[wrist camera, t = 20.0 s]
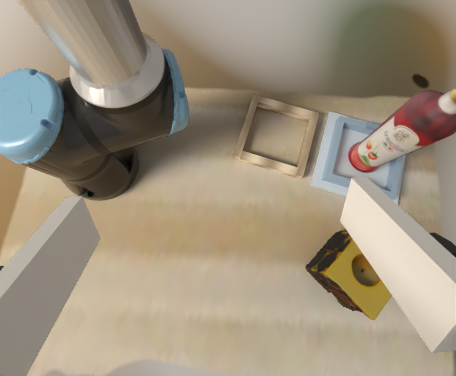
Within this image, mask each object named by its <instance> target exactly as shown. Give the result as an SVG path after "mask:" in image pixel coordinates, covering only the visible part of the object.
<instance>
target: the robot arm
mask: <svg viewBox="0 0 456 376" xmlns="http://www.w3.org/2000/svg"><path fill="white" fill-rule="evenodd" d="M17 1H18V2H19V4H20V5H21V6H22V7H23V8H24V10H25V11H26V12H27V13H28V14H29V16H30V17H31V18H32V19H33V20H34V22H35V23H36V24H37V25H38V26H39V28H40V29H41V30H42V31H43V32H44V33H45V35H46V36H47V37H48V38H49V39H50V41H51V42H52V43H53V44H54V46H55V47H56V48H57V49H58V50H59V51H60V53H61V54H62V55H63V56H64V58H65V59H66V60H67V61H68V62H69V63H70V77H69V78H65V79H62V80H58V81H55V80H54V78H52V77H51V76H50V75H48V74H45V73H43V72H38V71H37V70H34V69H18V70H14V71H11V72H9V73H7V74H5V75H3V76H1V77H0V154H1V155H3V156H5V157H7V158H9V159H10V160H12V161H13V162H15V163H18V164H22V165H25V166H27V167H30V168H33V169H35V170H38V171H41V172H44V173H46V174H49V175H52V176H54V177H57V178H60V179H61V180H62V181H63V183H64V184H65V185H66V186H67V187H68V188H69V189H70V190H71V191H72V192H73V193H75V194H77V195H78V196H80V197H66V198H65V199H64V200H63V201H62V202H61V204H60V205H59V206H58V207H57V208H56V209H55V210H54V211H53V213H52V214H51V215H50V216H49V217H48V218H47V219H46V220H45V221H44V223H43V224H42V225H41V226H40V227H39V228H38V229H37V230H36V232H35V233H34V234H33V235H32V236H31V237H30V238H29V239H28V240H27V242H26V243H25V244H24V245H23V246H22V247H21V248H20V249H19V251H18V252H17V253H16V254H15V255H14V256H13V257H12V258H11V259H10V261H9V262H8V263H7V264H6V265H5V266H0V376H26V375H27V373H28V371H29V370H30V368H31V366H32V364H33V362H34V360H35V359H36V357H37V355H38V353H39V351H40V349H41V348H42V346H43V344H44V342H45V340H46V338H47V337H48V335H49V333H50V331H51V329H52V327H53V325H54V324H55V322H56V320H57V318H58V316H59V314H60V313H61V311H62V309H63V307H64V305H65V303H66V302H67V300H68V298H69V296H70V294H71V292H72V290H73V289H74V287H75V285H76V283H77V281H78V279H79V278H80V276H81V274H82V272H83V270H84V268H85V267H86V265H87V263H88V261H89V259H90V257H91V256H92V254H93V252H94V250H95V248H96V246H97V244H98V243H99V241H100V239H101V238H100V236H99V234H98V231H97V229H96V227H95V224H94V222H93V220H92V218H91V215H90V213H89V211H88V208H87V206H86V204H85V202H84V199H83V197H84V198H87V199H90V200H98V201H99V200H107V199H111V198H114V197H116V196H118V195H120V194H121V193H123V192H124V191H125V190H126V189H127V188H128V187H129V186H130V185H131V183H132V182H133V180H134V179H135V177H136V174H137V171H138V155H137V152H136V150H135V148H134V146H136V145H139V144H142V143H145V142H149V141H152V140H155V139H158V138H162V137H167V136H170V135H172V134H173V133H175V132H178V131H180V130H183V129H184V128H185V127H186V126H187V125H188V122H189V108H188V102H187V97H186V94H185V89H184V83H183V80H182V76H181V73H180V70H179V67H178V64H177V61H176V59H175V57H174V55H173V53H172V52H171V51H170V50H168V49H161V48H160V46H159V45H158V44H157V42H156V41H155V40H154V39H153V38H152V37H150V36H149V35H147V34H146V33H143V32H141V29H140V27H139V24H138V22H137V19H136V17H135V14H134V12H133V9H132V7H131V4H130V2H129V0H17ZM340 221H341V223H342V224H343V226H344V227H345V229H346V230H347V231H348V233H349V234H350V236H351V237H352V239H353V240H354V241H355V243H356V244H357V246H358V247H359V249H360V250H361V252H362V253H363V254H364V256H365V257H366V259H367V260H368V262H369V263H370V265H371V266H372V267H373V269H374V270H375V272H376V273H377V275H378V276H379V277H380V279H381V280H382V282H383V283H384V285H385V286H386V288H387V289H388V290H389V292H390V293H391V295H392V296H393V298H394V299H395V300H396V302H397V303H398V305H399V306H400V308H401V309H402V311H403V312H404V313H405V315H406V316H407V318H408V319H409V321H410V322H411V324H412V325H413V326H414V328H415V329H416V331H417V332H418V334H419V335H420V336H421V338H422V339H423V341H424V342H425V344H426V345H427V347H428V348H429V349H430V351H431V352H432V353H437V352H449V351H455V350H456V246H455V245H454V244H453V243H452V242H450V241H449V240H447V239H445V238H443V237H441V236H440V235H438V234H436V233H428V232H427V231H426V230H425V229H424V228H422V227H421V226H420V225H419V224H418V223H417V222H416V221H415V220H414V219H413V218H411V217H410V216H409V215H408V214H407V213H406V212H405V211H404V210H403V209H402V208H400V207H399V206H398V205H397V204H396V203H395V202H394V201H393V200H392V199H391V198H389V197H388V196H387V195H386V194H385V193H384V192H383V191H382V190H381V189H380V188H378V187H377V186H376V185H375V184H374V183H373V182H372V181H371V180H370V179H369V178H368V177H355V178H351V181H350V185H349V189H348V193H347V197H346V201H345V205H344V208H343V212H342V216H341V220H340Z"/></svg>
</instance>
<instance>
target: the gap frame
mask: <svg viewBox="0 0 456 376" xmlns="http://www.w3.org/2000/svg"><path fill="white" fill-rule="evenodd" d="M257 107H260V108H263V109H267V110H270V111H273V112H277V113H280V114H284V115H287V116H290V117H294V118H297V119H301V120H304V121H308V125H307V128H306V132H305V136H304V139H303V143H302V147H301V150H300V154H299V158H298V162H297V165H296V167H294V166H291V165H288V164H285V163H281V162H278V161H275V160H271V159H268V158H265V157H262V156H258V155H255V154H252V153H249V152H245V151H243V148H244V145H245V142H246V139H247V136H248V133H249V130H250V127H251V124H252V121H253V118H254V115H255V112H256V109H257ZM319 114H320V113H317V112H314V111H310V110H307V109H303V108H300V107H296V106H293V105H290V104H286V103H283V102H279V101H276V100H272V99H269V98H265V97H262V96H259V95H255V94H253V97H252V100H251V103H250V106H249V109H248V112H247V115H246V118H245V121H244V124H243V127H242V130H241V133H240V136H239V139H238V142H237V145H236V148H235V151H234V154H233V158H234V159H237V160H240V161H244V162H247V163H250V164H253V165H257V166H260V167H263V168H266V169H270V170H273V171H276V172H279V173H283V174H286V175H289V176H292V177H296V178H299V179H301V178H302V177H303V175H304V171H305V167H306V163H307V160H308V156H309V152H310V148H311V144H312V140H313V137H314V133H315V129H316V125H317V121H318V118H319Z"/></svg>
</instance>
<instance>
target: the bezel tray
mask: <svg viewBox="0 0 456 376" xmlns="http://www.w3.org/2000/svg"><path fill="white" fill-rule="evenodd" d="M379 126H380V125H379V124H375V123H372V122H366V121H362V120H359V119H355V118H352V117H348V116H345V115H341V114H338V113H334V112H331V111H329V113H328V117H327V121H326V125H325V129H324V133H323V137H322V141H321V145H320V148H319V152H318V156H317V160H316V164H315V168H314V172H313V176H312V180H311V184H310V186H312V187H315V188H318V189H322V190H325V191H328V192H331V193H335V194H338V195H341V196H344V197H347V193H348V189H349V185H350V181H351V178H355V177H368V178H369V179H370V180H371V181H372V182H373V183H374V184H375V185H376V186H377V187H378V188H380V189H381V190H382V191H383V192H384V193H385V194H386V195H387V196H388V197H389V198H391V199H392V200H393V201H394V202H395V203H396V204H397V205H398V200H399V194H400V188H401V182H402V176H403V170H404V164H405V158H406V155H403V156H401V157H399V158H396V159H394V160H392V161H390V162H387V163H385V164H383V165H381V166H379V168H378V169H377V170H375V171H374V172H371V173H363V172H360V171H358V170H356V169H355V168H354V167H353V166H352V165H351V163H350V161H349V158H348V153H349V150H350V148H351V147H352V146H353V145H354V144H356V143H358V142H361V141H362V140H364V139H365V138H366V137H367V136H369V135H370V134H371V133H372V132H373V131H374V130H376V129H377V128H378V127H379Z"/></svg>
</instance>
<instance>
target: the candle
mask: <svg viewBox="0 0 456 376" xmlns="http://www.w3.org/2000/svg"><path fill="white" fill-rule="evenodd" d="M306 270H307V271H308V272H309V273H310V274H311V275H312V276H313V277H314V278H315V280H317V282H318V283H320V284H321V285H322V286H323V287H324V288H325V290H327V291H328V292H329V293H330V292H331V293H333V295H334V296H335V297H336V298H337V300H338V302H339V303H340V304H341V305H342V306H343V307H346V308H348V309H351V310H352V311H360V312H362V313H364V314H365V315H366V316H367V317H369V318H370V319H371V320H375V319H376V317H377V316H378V315H379V313H380V311H381V310H382V309H383V307H384V306H385V304H386V303H387V301H388V300H389V299H390V297H391V296H392V295H391V293H390V292H389V290H388V289H387V288H386V286H385V285H384V283H383V282H382V280H381V279H380V277H379V276H378V275H377V273H376V272H375V270H374V269H373V267H372V266H371V265H370V263H369V262H368V260H367V259H366V257H365V256H364V254H363V253H362V252H361V250H360V249H359V247H358V246H357V244H356V243H355V241H354V240H353V239H352V237H351V236H350V234H349V233H348V231H347V232H343V231H342V232H336V233H335V234H334V235H333V236H332V237H331V239H329V240H328V241H327V243H326V244H325V245H324V246H323V248H322V249H320V251H319V252H318V253H317V255H316V256H315V257H314V258H313V259H312V260H311V262H310V263H309V264H307V265H306Z"/></svg>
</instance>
